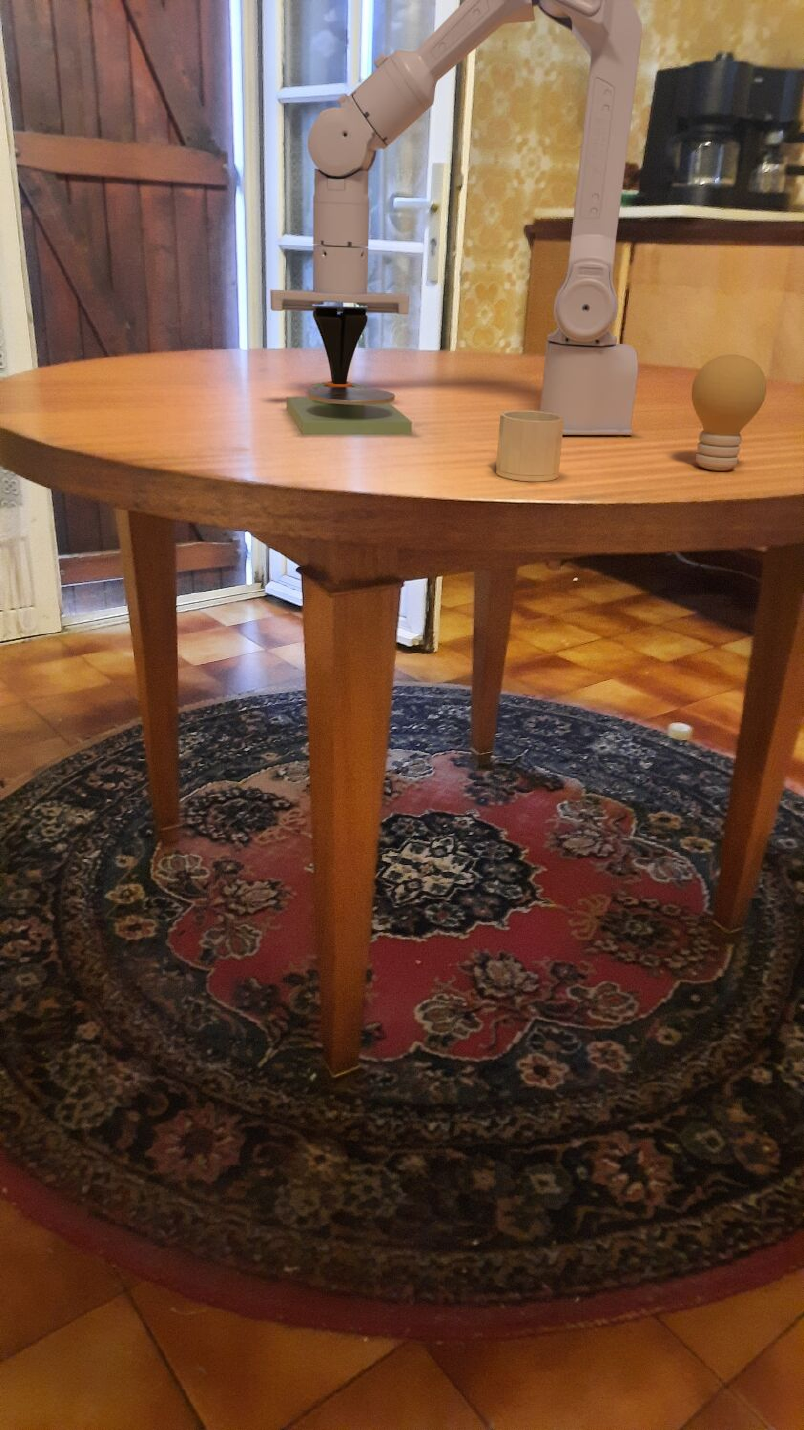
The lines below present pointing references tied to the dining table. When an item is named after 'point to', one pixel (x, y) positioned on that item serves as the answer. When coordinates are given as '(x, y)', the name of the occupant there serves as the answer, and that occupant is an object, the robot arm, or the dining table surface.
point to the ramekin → (529, 445)
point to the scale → (346, 417)
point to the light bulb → (726, 407)
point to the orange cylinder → (330, 384)
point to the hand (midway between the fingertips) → (338, 383)
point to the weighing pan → (350, 395)
